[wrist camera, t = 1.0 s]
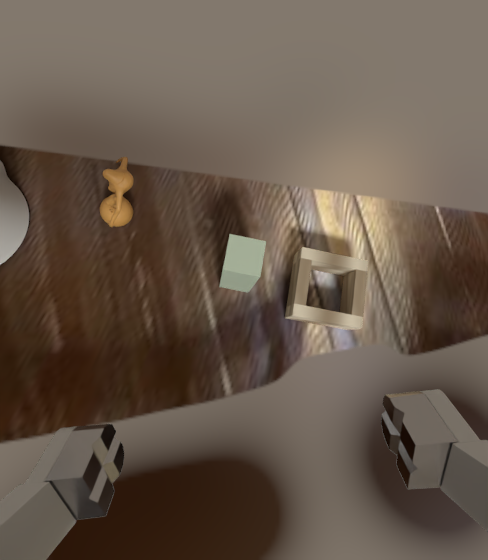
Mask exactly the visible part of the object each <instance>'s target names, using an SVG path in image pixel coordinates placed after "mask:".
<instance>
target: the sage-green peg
mask: <svg viewBox="0 0 488 560" xmlns="http://www.w3.org/2000/svg"><path fill="white" fill-rule="evenodd" d="M265 246H266V241H262V240H257V239H252V238H247V237H242V236H238V235H233V234H230V235H229V240H228V245H227V250H226V255H225V260H224V265H223V270H222V276H221V281H220V286H219V287H223V288H228V289H233V290H238V291H243V292H249V291H250V290H251V288H252V287H253V286H254V284H255V283H256V282H257V280H258V279H259V278H260V275H261V269H262V263H263V257H264V251H265Z"/></svg>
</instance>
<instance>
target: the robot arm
mask: <svg viewBox="0 0 488 560" xmlns="http://www.w3.org/2000/svg"><path fill="white" fill-rule="evenodd" d="M28 224H29V210H28V205H27V202H26V200H25V198H24V196H23V194H22V192H21V191H20V190H19V189H18V187H17V186H16V185H15V184H14V183H13V182H11V180H10V179H9V178H8V177H7V174H6V171H5V168H4V165H3V163H2V162H1V160H0V264H2V263H3V262H5V261H6V260H7V259H8V258H10V257H11V256H12V255H13V254H14V253H15V251H16V250H17V249H18V248H19V246H20V245H21V243H22V241H23V240H24V237H25V235H26V232H27V229H28ZM383 406H384V408H385V410H386V411H385V412H384V413H383V414H382V417H381V425H382V431H383V435H384V438H385V441H386V443H387V445H388V448H389V449H390V450H391V451H392V452H393V453H395V454H396V455H397V463H396V465H397V467H398V469H399V471H400V474H401V476H402V478H403V480H404V482H405V484H406V487H407V489H420V488H438V487H441V490H442V491H443V492H444V493H445V494H447V495H448V496H449V497H450V498H451V499H452V500H453V501H454V502H455V503H456V504H458V505H459V506H460V507H461V508H462V509H463V510H464V511H465V512H466V513H467V514H469V515H470V516H471V517H472V518H473V519H474V520H475V521H476V522H477V523H479V524H480V525H481V526H482V527H483V528H484V529H485V530H486V531H487V532H488V441H487V440H480V439H479V438H478V437H477V436H476V434H475V433H474V432H473V430H472V429H471V428H470V426H469V425H468V424H467V422H466V421H465V420H464V419H463V417H462V416H461V415H460V413H459V412H458V411H457V410H456V408H455V407H454V406H453V405H452V403H451V402H450V400H449V399H448V398H447V396H446V395H445V394H444V393H443V392H442V391H441V390H439V389H438V390H427V391H415V392H407V393H398V394H389V395H385V396H384V398H383ZM115 433H116V430H115V429H114V427H113V425H112V424H105V425H92V426H79V427H68V428H61V429H59V430H58V431H57V432H56V433H55V434H54V436H53V438H52V439H51V441H50V443H49V444H48V446H47V448H46V450H45V451H44V453H43V454H42V456H41V458H40V460H39V461H38V463H37V465H36V466H35V468H34V470H33V471H32V473H31V475H30V476H29V478H28V480H27V481H26V483H25V484H20V485H19V486H17V487H16V488H15V489H14V490H13V491H11V492H10V493H9V494H8V495H7V496H6V497H4V498H3V499H2V500H1V501H0V560H46V559H47V558H48V556H49V555H50V554H51V553H52V551H53V550H54V549H55V548H56V546H57V545H58V544H59V543H60V542H61V540H62V539H63V538H64V536H65V535H66V534H67V533H68V532H69V530H70V529H71V528H72V527H73V525H74V524H75V523H76V520H78V519H86V518H95V517H102V516H106V514H107V511H108V508H109V506H110V503H111V500H112V497H113V494H114V488H113V485H112V483H113V482H114V480H116V479H117V478H118V476H119V475H120V473H121V470H122V467H123V461H124V450H123V445H122V443H121V441H119V440H118V439H116V438H115V437H114V435H115Z"/></svg>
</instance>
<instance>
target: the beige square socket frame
mask: <svg viewBox="0 0 488 560" xmlns="http://www.w3.org/2000/svg"><path fill="white" fill-rule="evenodd" d="M311 269H312V270H317V271H322V272H327V273H332V274H337V275H341V276H343V284H342V293H341V302H340V311H339V312H335V311H330V310H325V309H320V308H315V307H310V306H306V301H307V293H308V286H309V279H310V271H311ZM367 270H368V261H367V260H363V259H358V258H353V257H348V256H343V255H339V254H334V253H329V252H324V251H320V250H315V249H310V248H305V247H302V248H301V249H300V250H299V251H298V252H297V253H296V254H295V255H294V259H293V266H292V273H291V279H290V286H289V293H288V299H287V306H286V313H285V318H287V319H292V320H298V321H303V322H308V323H313V324H319V325H324V326H329V327H334V328H339V329H345V330H355V329H362V323H363V313H364V302H365V291H366V280H367Z"/></svg>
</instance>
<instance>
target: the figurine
mask: <svg viewBox="0 0 488 560" xmlns="http://www.w3.org/2000/svg"><path fill="white" fill-rule="evenodd" d="M120 161H121V165H120V167H119V168H118V169H116V170H112V169H106V170H104V171H103V176H104V177H105V178H106V179H107V180H108V181H109V186H108V189H109V190H110V191H111V192H113V193H115V194H112V195H110V196H109V197H107V198H105V199H104V200H103V201H102V203H101V206H100V214H101V216H102V218H103V220H104V221H105V222H106V223H108V225H110V226H111V228H112V227H113V226H117V227H118V226H123V225H126V224H127V223H128V222H129V221H130V220H131V218H132V216H133V209H132V206H131V204H130V202H129V201H128V200H127V199H125V198H124V197H123V194H124V193H125V192H127V191H128V190H129V189H130V188H131V187H132V185H133V177H132V175H131V174H130V173H129V172H128V171H127V163H128V159H127V157H123V158H120V159H118V161H117V162H116V163H118V162H120ZM110 226H109V227H110Z"/></svg>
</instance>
